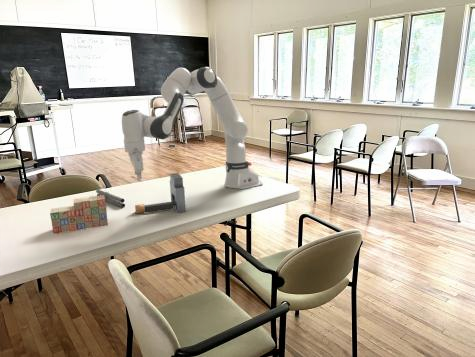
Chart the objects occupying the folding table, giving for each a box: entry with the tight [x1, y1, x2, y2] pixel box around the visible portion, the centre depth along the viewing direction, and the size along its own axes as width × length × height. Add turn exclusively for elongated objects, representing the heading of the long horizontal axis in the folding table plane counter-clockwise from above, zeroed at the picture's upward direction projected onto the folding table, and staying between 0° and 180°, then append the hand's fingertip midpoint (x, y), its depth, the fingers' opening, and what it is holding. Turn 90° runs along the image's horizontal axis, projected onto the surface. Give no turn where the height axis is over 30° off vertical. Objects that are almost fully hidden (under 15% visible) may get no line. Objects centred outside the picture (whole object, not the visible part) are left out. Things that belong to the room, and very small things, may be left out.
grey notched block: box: [169, 172, 187, 214], centre depth 171 cm, size 4×15×16 cm, turn 21°
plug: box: [134, 201, 175, 214], centre depth 168 cm, size 18×4×4 cm, turn 111°
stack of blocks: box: [49, 195, 109, 235], centre depth 150 cm, size 21×6×12 cm, turn 113°
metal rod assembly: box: [95, 188, 126, 209], centre depth 182 cm, size 26×3×5 cm, turn 48°
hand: (138, 176), depth 163 cm, fingers open, 8 cm apart
